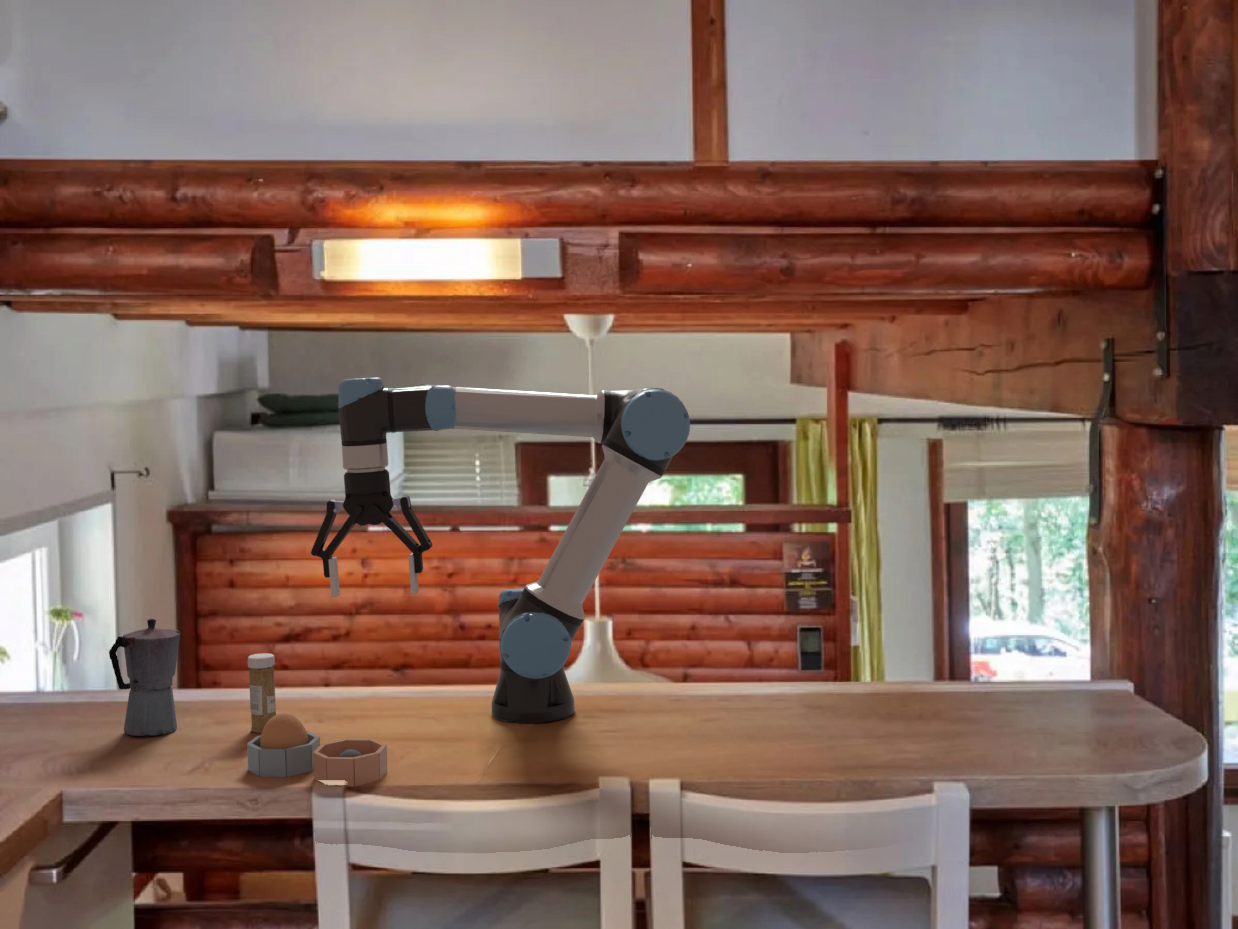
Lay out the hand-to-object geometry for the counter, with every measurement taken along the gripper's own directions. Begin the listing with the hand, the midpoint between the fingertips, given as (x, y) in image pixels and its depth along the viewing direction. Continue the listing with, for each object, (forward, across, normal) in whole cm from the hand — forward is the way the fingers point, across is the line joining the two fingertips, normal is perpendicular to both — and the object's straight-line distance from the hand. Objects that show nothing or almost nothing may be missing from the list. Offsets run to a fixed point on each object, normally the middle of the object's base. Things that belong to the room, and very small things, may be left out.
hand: (375, 594), depth 226 cm
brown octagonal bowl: (+25, 0, +22) cm, 33 cm away
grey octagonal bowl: (+25, +12, +17) cm, 32 cm away
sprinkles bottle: (+25, +23, -6) cm, 34 cm away
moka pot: (+24, +43, -5) cm, 50 cm away
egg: (+24, +12, +17) cm, 32 cm away
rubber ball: (+24, 0, +22) cm, 33 cm away
